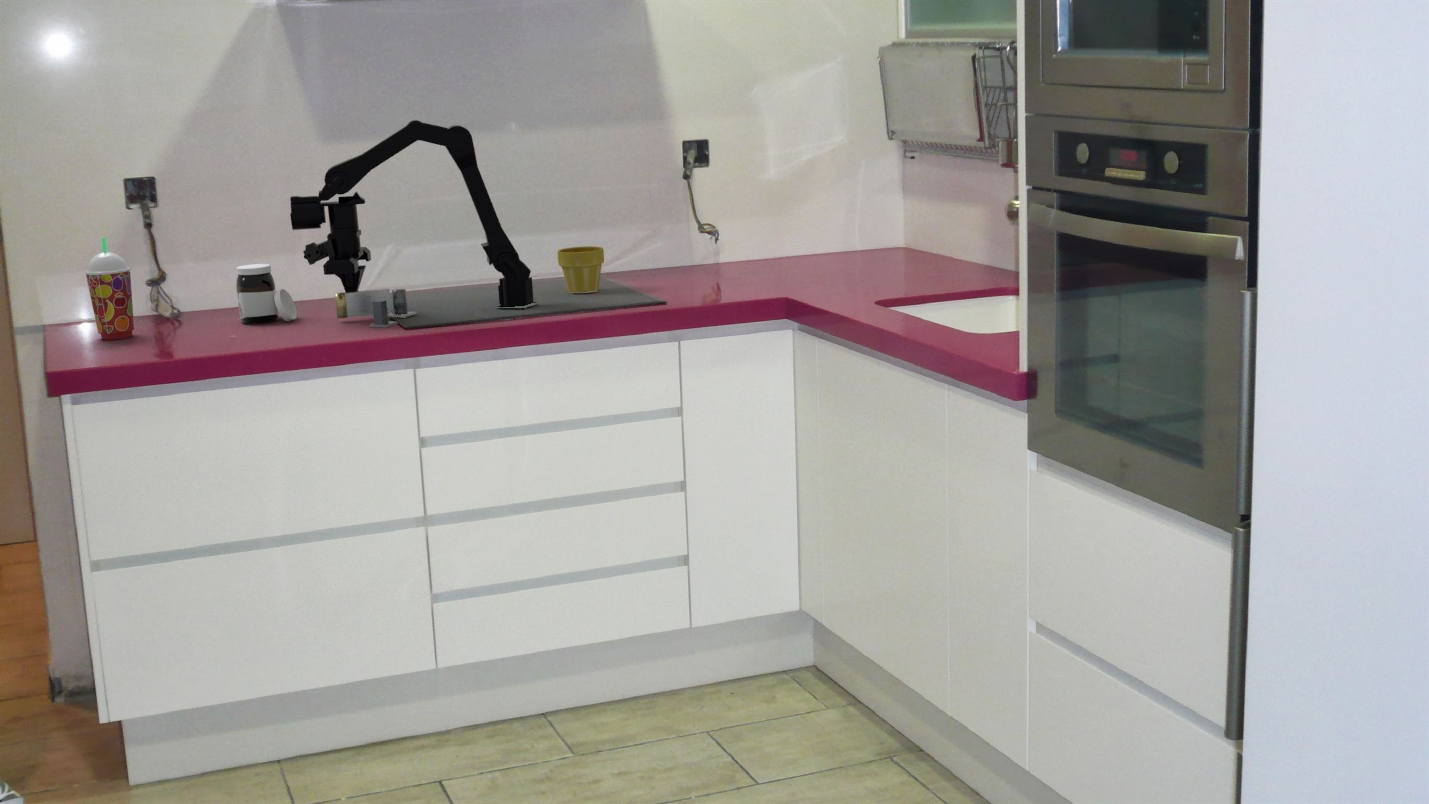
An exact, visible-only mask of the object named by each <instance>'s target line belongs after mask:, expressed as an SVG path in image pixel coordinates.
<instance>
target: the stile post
mask: <svg viewBox="0 0 1429 804" xmlns="http://www.w3.org/2000/svg"><path fill="white" fill-rule="evenodd" d="M372 304H373V314H374V315H373V322H374V323H371V324H369V328H382V329H385V328H389V327H393V326H396V325H398V321H389V318H388V314H389V313H388V312H387V301H386V300H377V301H373V302H372Z"/></svg>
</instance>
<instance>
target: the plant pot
mask: <svg viewBox="0 0 1429 804" xmlns="http://www.w3.org/2000/svg"><path fill="white" fill-rule="evenodd" d="M604 251H605V250H604V247H601V246H596V245H594V246H592V245H589V246H588V245H586V246H585V245H584V246H575V247H574V246H573V247H566V248H561V249H558V250H557V262H558V265H559V267H561V270H562V272H563V276H564V280H565V283H566V288H567V291H568V293H569V292H588V291H595V290H598V291H599V288H600V281H601V272H602V271H601V270H602V264H604V262H605V252H604Z"/></svg>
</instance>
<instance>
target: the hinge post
mask: <svg viewBox="0 0 1429 804" xmlns="http://www.w3.org/2000/svg"><path fill="white" fill-rule="evenodd" d="M406 292H407V291H406V288H396V289H392V290H391V295H392V307H393V312H394V314H396V315H397V314H398V315H401V314H413V313H417V312H418V311H408V303H407V301H408V300H407V293H406ZM393 312H392V313H393ZM392 313H388V319H392V318H391V316H393V314H392Z"/></svg>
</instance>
